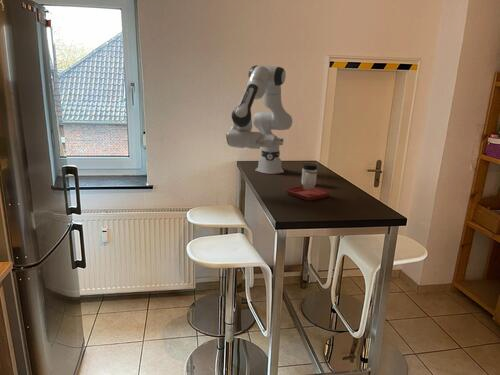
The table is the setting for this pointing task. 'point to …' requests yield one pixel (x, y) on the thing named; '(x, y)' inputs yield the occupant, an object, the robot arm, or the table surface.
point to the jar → (308, 167)
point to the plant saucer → (307, 193)
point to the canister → (309, 180)
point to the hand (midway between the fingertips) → (283, 141)
